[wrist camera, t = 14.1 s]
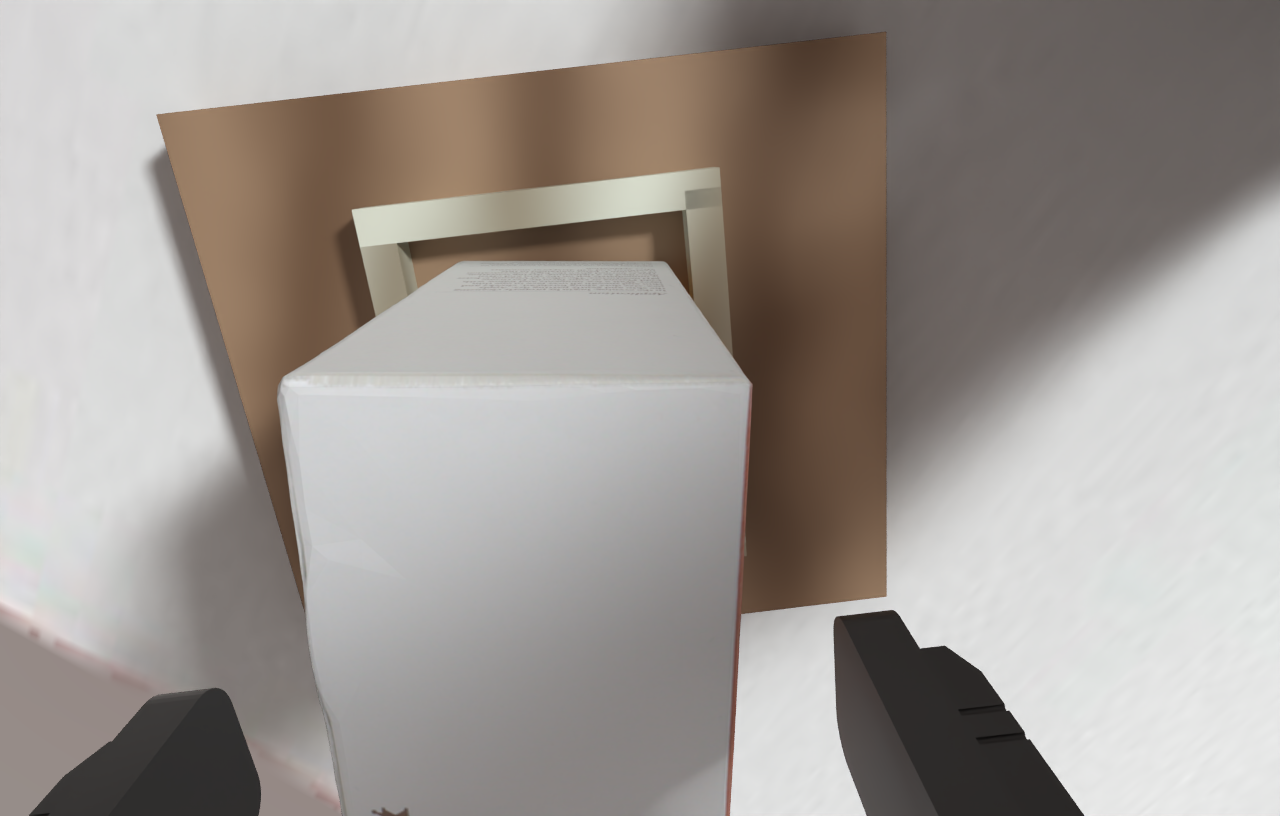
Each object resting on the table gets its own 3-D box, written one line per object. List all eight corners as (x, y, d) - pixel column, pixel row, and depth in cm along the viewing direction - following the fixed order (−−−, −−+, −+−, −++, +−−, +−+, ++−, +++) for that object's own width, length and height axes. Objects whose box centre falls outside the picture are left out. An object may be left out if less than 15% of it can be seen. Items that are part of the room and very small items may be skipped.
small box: (667, 502, 24) (733, 853, 12) (474, 505, 24) (336, 868, 12) (672, 254, 22) (761, 374, 9) (455, 254, 21) (253, 379, 9)
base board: (861, 43, 22) (903, 24, 19) (867, 566, 28) (899, 616, 25) (194, 118, 22) (129, 111, 19) (340, 630, 28) (307, 687, 25)
